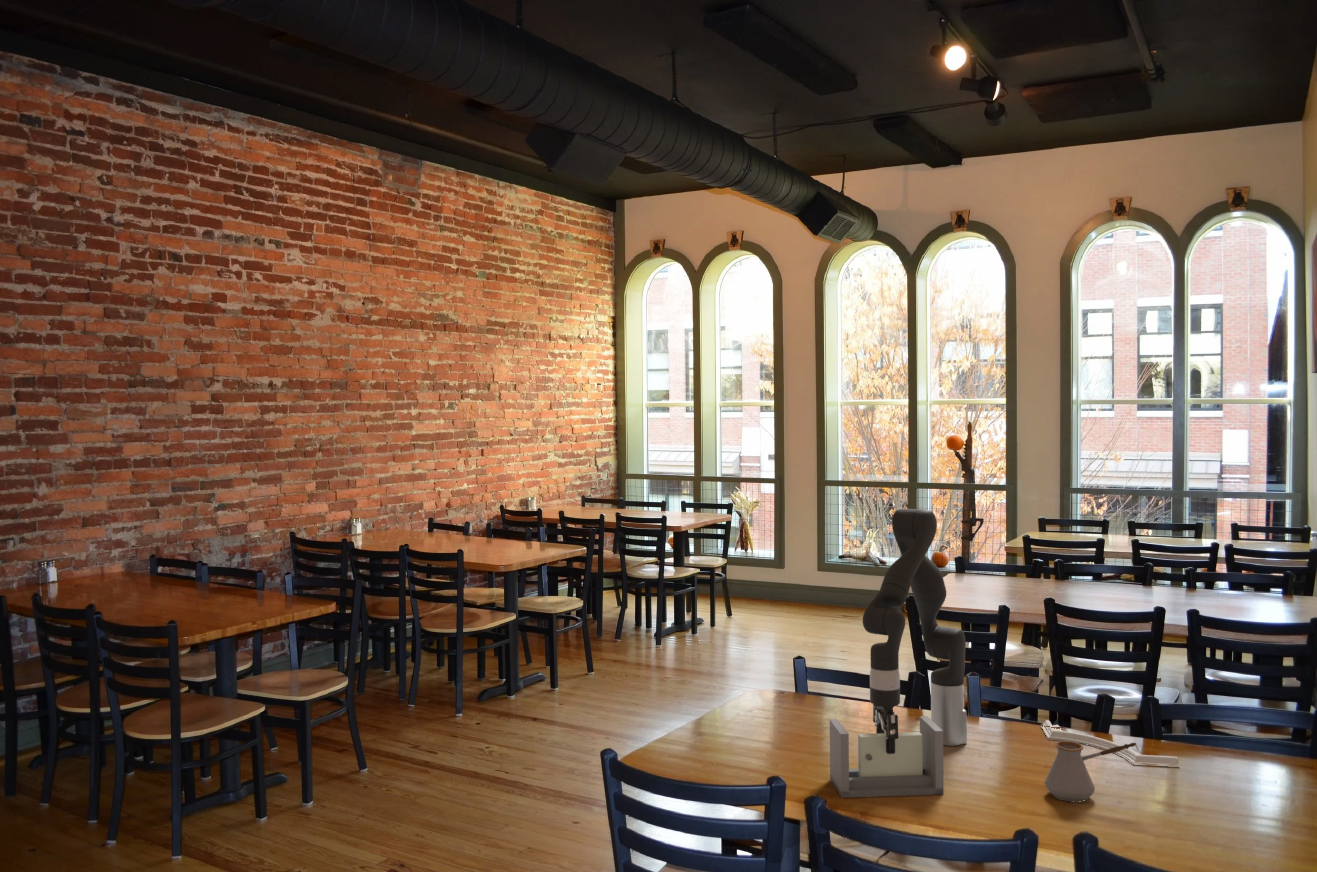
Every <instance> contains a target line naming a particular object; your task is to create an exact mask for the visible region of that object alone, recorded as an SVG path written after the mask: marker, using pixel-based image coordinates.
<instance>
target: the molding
mask: <svg viewBox="0 0 1317 872" xmlns="http://www.w3.org/2000/svg"><path fill="white" fill-rule="evenodd" d="M1042 725H1043V727H1042V726H1040V729H1041V728H1042V729H1043V730H1042V729H1041V731H1042V732H1043V731H1044V732H1043V734H1044V733H1045V734H1044V735H1046V736H1045V737H1046V740H1049V741H1050V740H1051V741H1058V742H1061V741H1069V742H1075V743H1083V744H1082V745H1084V744H1088V745H1092V746H1095V747H1094V748H1096V749H1097V748H1098V749H1099V750H1102V751H1104V750H1107V749H1110V748H1113V747H1116V746H1123V745H1122V744H1118V743H1116V742H1113V741H1111V740H1107V739H1105V738H1100V737H1096V736H1094V735H1088V734H1083V733H1077V732H1073V731H1072V732H1071V731H1065V730H1063V729H1062V728H1061V727H1060V725H1059V724H1053V725H1052V723H1051V721H1050V720H1049V719H1046V720H1045V721H1044V722H1043V723H1042ZM1044 726H1050V727H1044ZM1051 727H1060V729H1056V728H1055V729H1054V728H1051ZM1046 729H1047V730H1046ZM1061 729H1062V730H1061ZM1088 745H1087V746H1088ZM1092 746H1091V747H1092ZM1115 753H1117V754H1119V755H1122V756H1124V757H1125V758H1127V759H1128V760H1130V761H1131V762H1132V763H1145V764H1179V765H1180V763H1179V762H1180V761H1179V757H1177V756H1170V755H1169V756H1168V755H1151V754H1150V755H1149V754H1140V753H1139V752H1138V751H1135V750H1133V749H1131V748H1128V749H1126V748H1125V749H1123V750H1121V751H1118V752H1115Z"/></svg>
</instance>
